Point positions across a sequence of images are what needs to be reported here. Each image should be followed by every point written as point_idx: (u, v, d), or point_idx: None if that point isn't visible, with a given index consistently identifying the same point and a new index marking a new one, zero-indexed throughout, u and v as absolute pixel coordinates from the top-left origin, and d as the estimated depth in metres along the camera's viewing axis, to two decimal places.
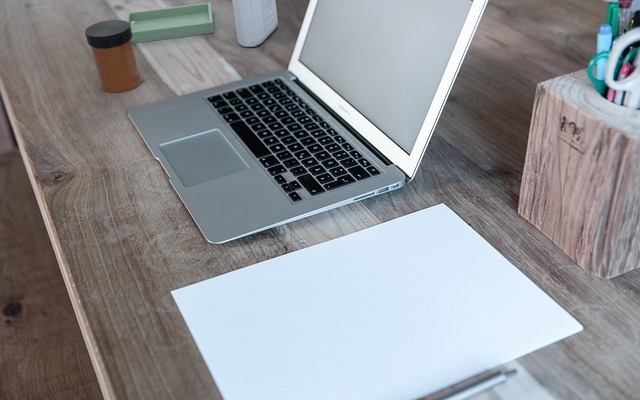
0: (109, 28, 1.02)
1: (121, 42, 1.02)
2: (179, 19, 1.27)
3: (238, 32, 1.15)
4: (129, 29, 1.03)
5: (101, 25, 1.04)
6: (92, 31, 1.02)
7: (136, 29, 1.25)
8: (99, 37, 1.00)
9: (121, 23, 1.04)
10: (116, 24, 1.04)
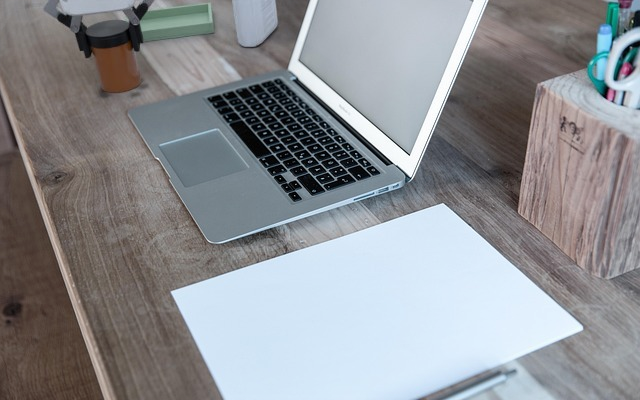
0: (109, 28, 1.02)
1: (121, 42, 1.02)
2: (179, 19, 1.27)
3: (238, 32, 1.15)
4: None
5: (101, 25, 1.04)
6: (92, 31, 1.02)
7: None
8: (99, 37, 1.00)
9: (121, 23, 1.04)
10: (116, 24, 1.04)
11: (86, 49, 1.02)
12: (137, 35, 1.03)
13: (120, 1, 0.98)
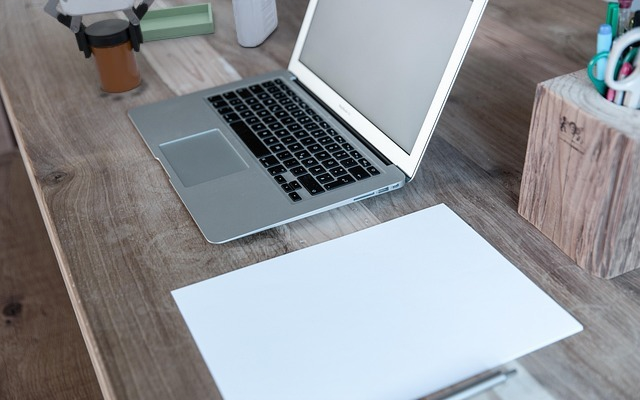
0: (109, 25, 1.03)
1: None
2: (179, 19, 1.27)
3: (238, 32, 1.15)
4: None
5: (98, 31, 1.02)
6: (112, 31, 1.01)
7: None
8: None
9: (98, 24, 1.04)
10: (99, 25, 1.03)
11: (86, 49, 1.02)
12: (137, 35, 1.03)
13: (120, 1, 0.98)
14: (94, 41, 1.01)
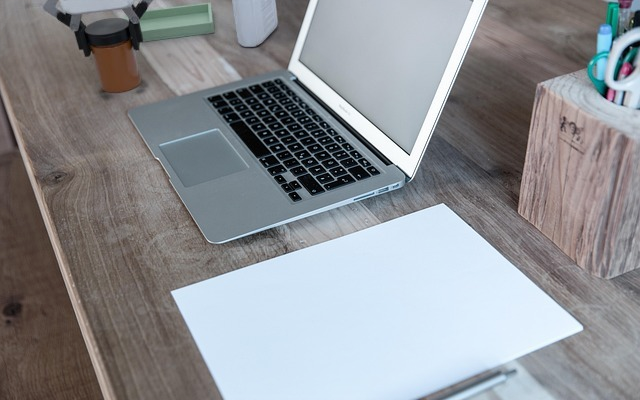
0: (104, 25, 1.03)
1: None
2: (179, 19, 1.27)
3: (238, 32, 1.15)
4: None
5: (115, 27, 1.02)
6: (119, 21, 1.04)
7: None
8: (108, 19, 1.05)
9: (95, 31, 1.01)
10: (100, 30, 1.01)
11: (85, 48, 1.02)
12: (137, 33, 1.03)
13: None
14: (128, 33, 1.02)
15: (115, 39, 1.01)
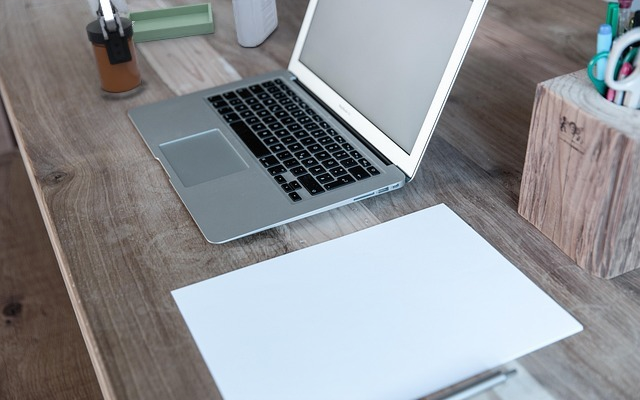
0: None
1: (98, 42, 1.01)
2: (179, 19, 1.27)
3: (238, 32, 1.15)
4: None
5: None
6: (98, 21, 1.04)
7: (136, 29, 1.25)
8: (86, 29, 1.02)
9: None
10: None
11: (129, 50, 1.02)
12: None
13: None
14: None
15: None
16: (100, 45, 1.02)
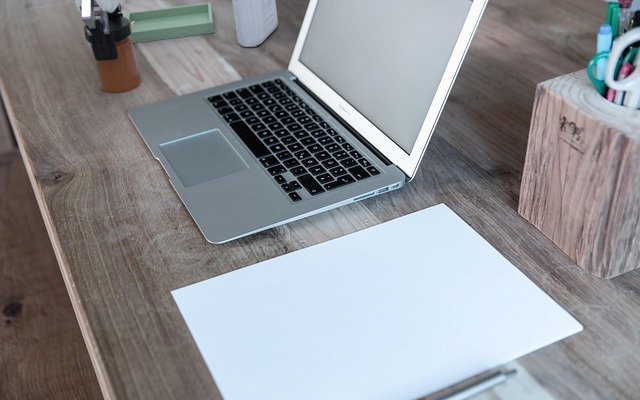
0: (109, 24, 1.02)
1: (126, 36, 1.02)
2: (179, 19, 1.27)
3: (238, 32, 1.15)
4: (129, 23, 1.03)
5: None
6: None
7: (136, 29, 1.25)
8: None
9: (117, 19, 1.04)
10: (113, 20, 1.04)
11: (116, 48, 1.01)
12: None
13: None
14: None
15: None
16: None
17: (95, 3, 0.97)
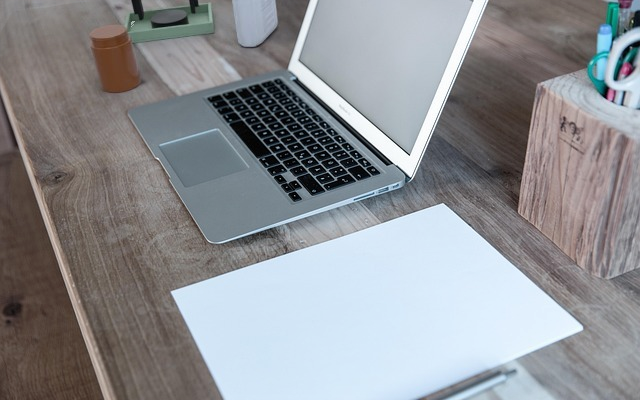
0: (169, 15, 1.25)
1: None
2: None
3: (238, 32, 1.15)
4: None
5: (164, 19, 1.23)
6: (177, 18, 1.23)
7: (136, 29, 1.25)
8: (186, 13, 1.25)
9: (158, 15, 1.25)
10: (160, 15, 1.25)
11: None
12: None
13: None
14: None
15: (153, 27, 1.23)
16: (99, 46, 1.02)
17: None
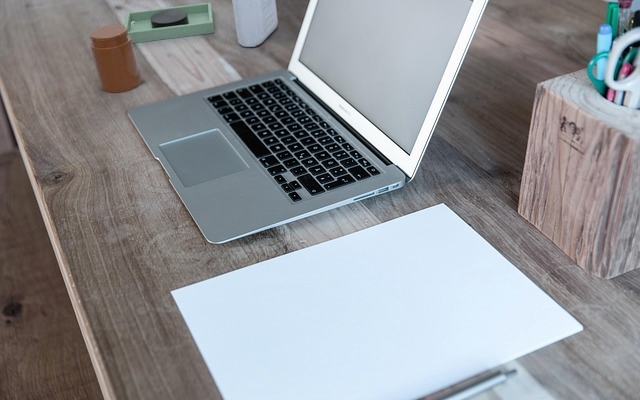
0: (169, 15, 1.25)
1: None
2: None
3: (238, 32, 1.15)
4: None
5: (164, 19, 1.23)
6: (177, 18, 1.23)
7: (136, 29, 1.25)
8: (186, 13, 1.25)
9: (158, 15, 1.25)
10: (160, 15, 1.25)
11: None
12: None
13: None
14: None
15: (153, 27, 1.23)
16: (99, 46, 1.02)
17: None
